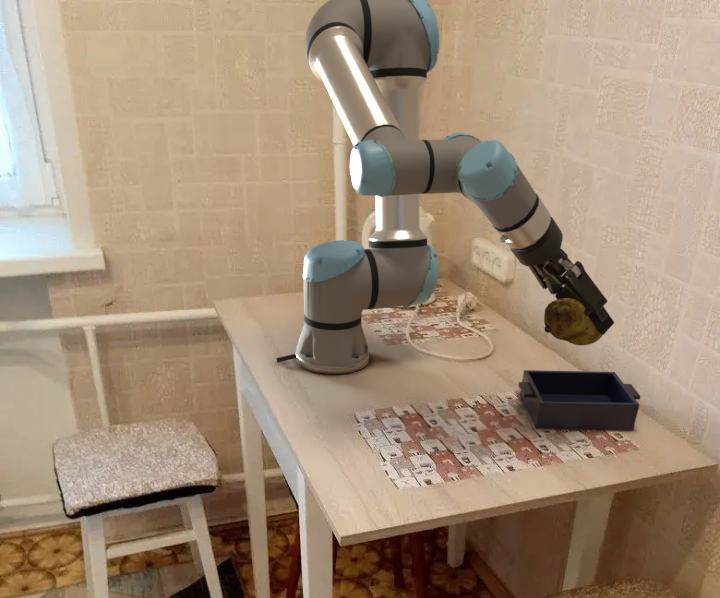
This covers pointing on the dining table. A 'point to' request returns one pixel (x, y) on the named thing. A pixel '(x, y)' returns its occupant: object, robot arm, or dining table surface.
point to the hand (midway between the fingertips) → (592, 320)
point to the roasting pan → (579, 400)
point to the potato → (570, 322)
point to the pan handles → (529, 393)
